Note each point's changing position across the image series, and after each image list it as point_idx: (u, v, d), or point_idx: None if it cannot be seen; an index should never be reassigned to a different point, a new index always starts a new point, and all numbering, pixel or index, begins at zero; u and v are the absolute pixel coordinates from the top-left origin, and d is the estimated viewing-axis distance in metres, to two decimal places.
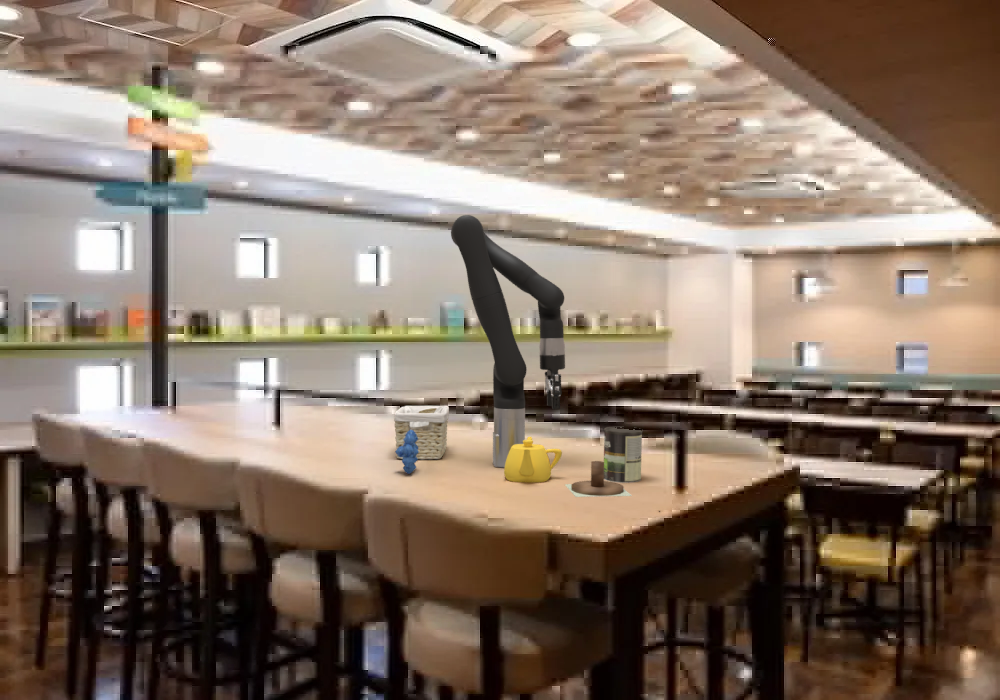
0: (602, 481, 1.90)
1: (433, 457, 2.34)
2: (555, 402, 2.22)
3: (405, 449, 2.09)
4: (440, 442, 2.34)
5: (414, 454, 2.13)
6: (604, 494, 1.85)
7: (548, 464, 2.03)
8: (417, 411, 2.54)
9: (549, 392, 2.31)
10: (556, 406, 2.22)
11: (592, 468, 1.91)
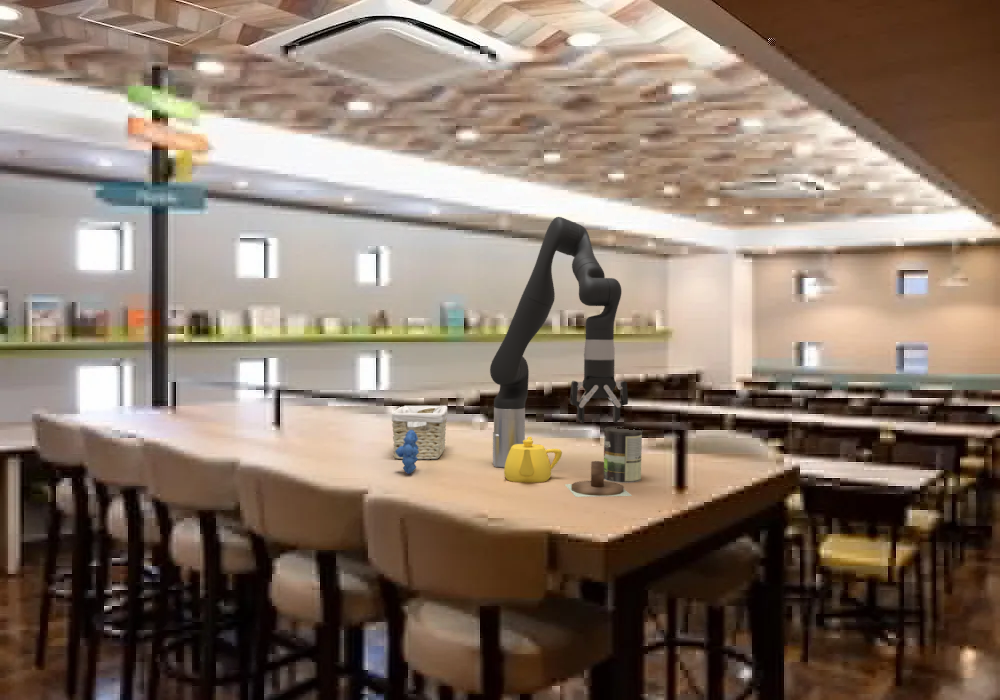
0: (602, 481, 1.90)
1: (431, 457, 2.34)
2: None
3: (405, 449, 2.09)
4: (438, 442, 2.33)
5: (414, 454, 2.13)
6: (604, 494, 1.85)
7: (548, 464, 2.03)
8: (416, 411, 2.54)
9: None
10: None
11: (592, 468, 1.91)
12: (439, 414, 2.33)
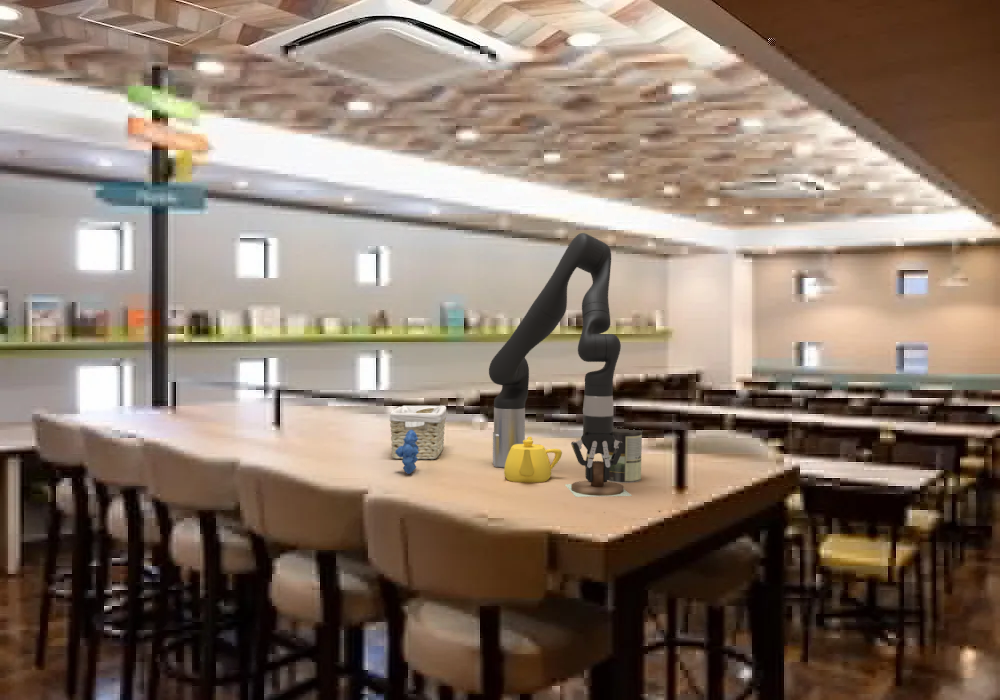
0: (602, 481, 1.90)
1: (428, 457, 2.34)
2: None
3: (405, 449, 2.09)
4: (435, 442, 2.33)
5: (414, 454, 2.13)
6: (604, 494, 1.85)
7: (548, 464, 2.03)
8: (414, 411, 2.54)
9: None
10: None
11: None
12: (437, 414, 2.33)
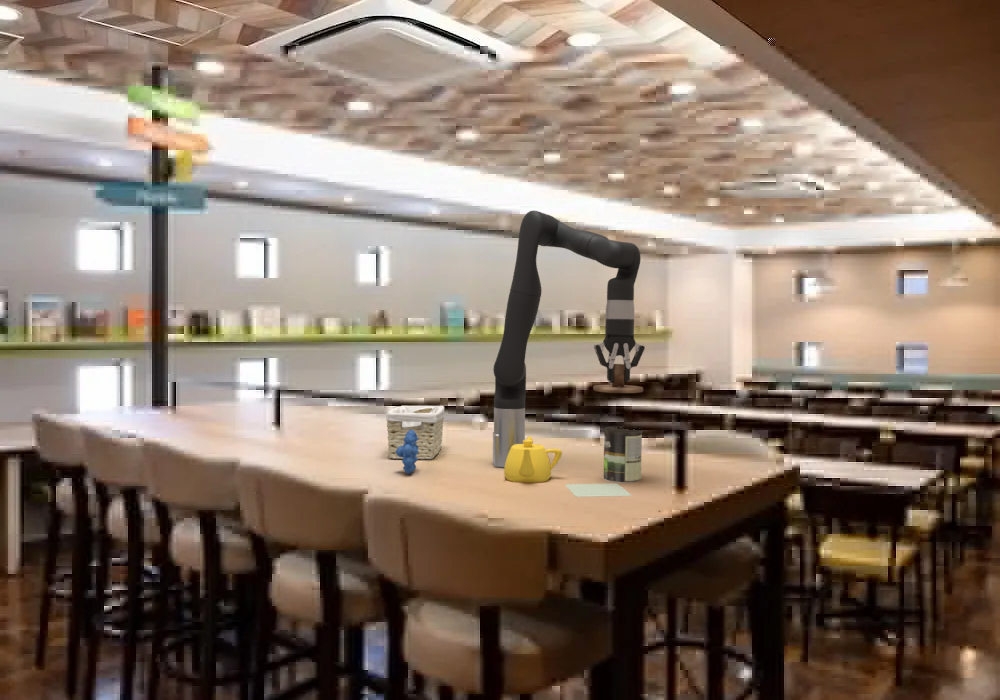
0: (623, 382, 2.01)
1: (425, 457, 2.34)
2: None
3: (405, 449, 2.09)
4: (432, 442, 2.33)
5: (414, 454, 2.13)
6: (624, 391, 1.95)
7: (548, 464, 2.03)
8: (413, 411, 2.54)
9: None
10: None
11: None
12: (433, 414, 2.33)
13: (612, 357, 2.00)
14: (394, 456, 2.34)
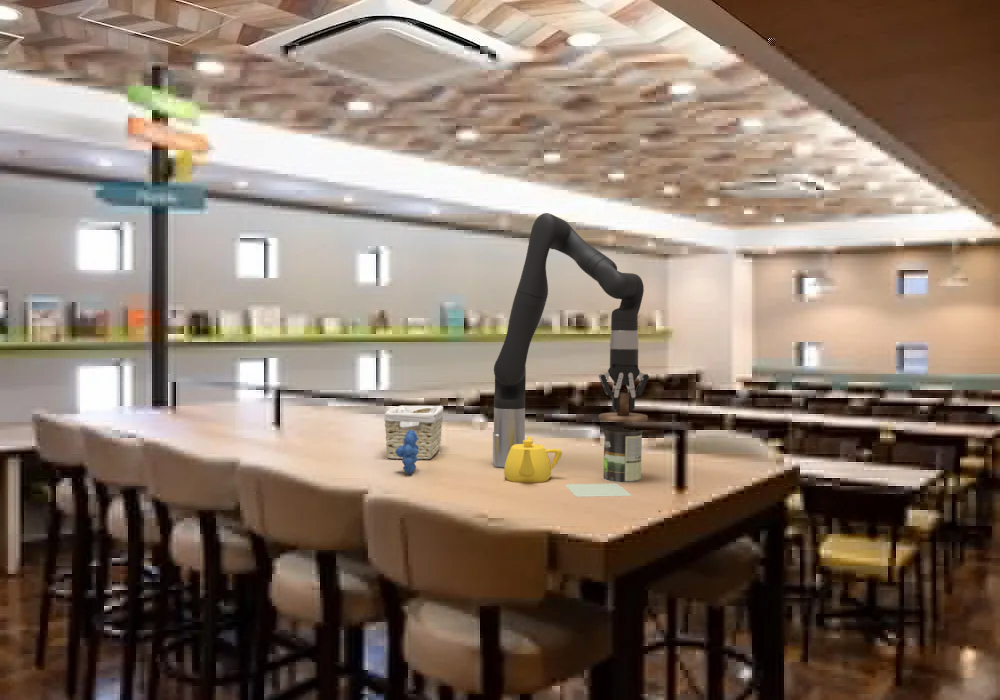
0: (628, 410, 2.04)
1: (423, 457, 2.34)
2: None
3: (405, 449, 2.09)
4: (430, 442, 2.33)
5: (414, 454, 2.13)
6: (630, 421, 1.99)
7: (548, 464, 2.03)
8: (412, 411, 2.54)
9: None
10: None
11: None
12: (431, 414, 2.32)
13: (617, 386, 2.03)
14: (392, 456, 2.34)
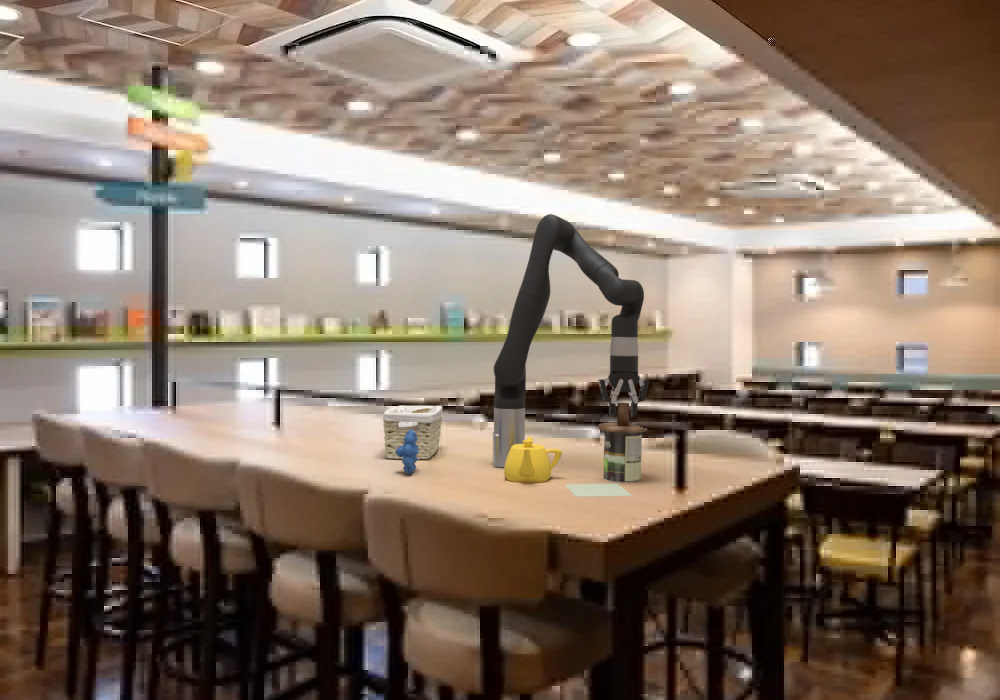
0: (627, 420, 2.04)
1: (421, 457, 2.34)
2: None
3: (405, 449, 2.09)
4: (428, 442, 2.33)
5: (414, 454, 2.13)
6: (630, 431, 1.98)
7: (548, 464, 2.03)
8: (411, 411, 2.54)
9: None
10: None
11: (618, 408, 2.04)
12: (430, 414, 2.32)
13: (615, 392, 2.03)
14: (390, 456, 2.34)
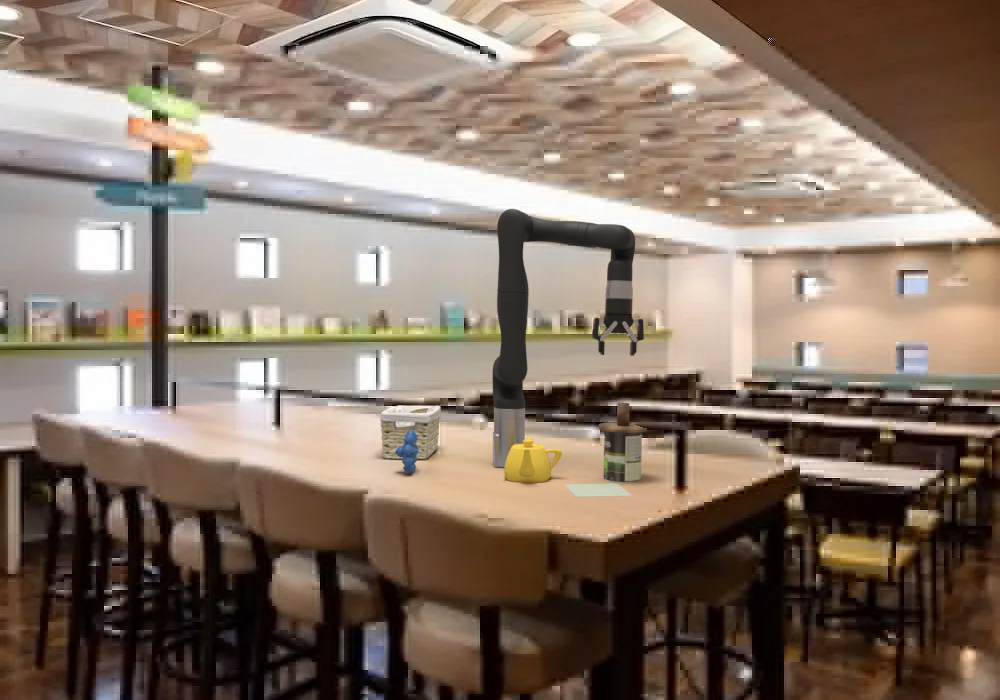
0: (628, 420, 2.04)
1: (419, 457, 2.34)
2: None
3: (405, 449, 2.09)
4: (425, 442, 2.33)
5: (414, 454, 2.13)
6: (630, 431, 1.99)
7: (548, 464, 2.03)
8: (409, 411, 2.54)
9: None
10: None
11: (618, 408, 2.04)
12: (427, 414, 2.32)
13: (607, 332, 2.12)
14: (388, 456, 2.34)
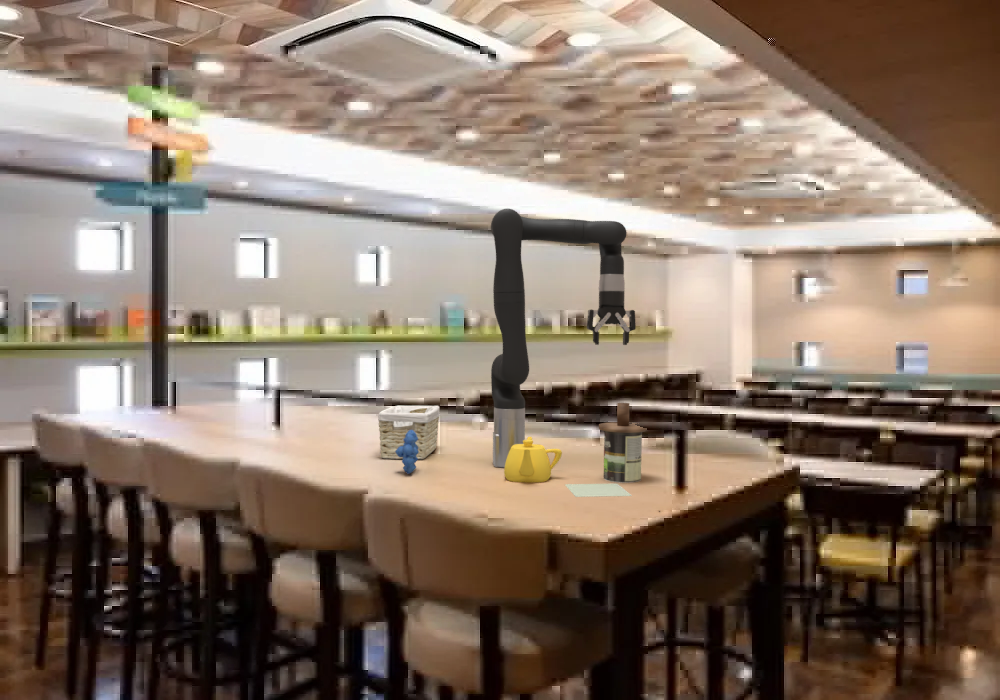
0: (628, 420, 2.04)
1: None
2: None
3: (405, 449, 2.09)
4: (423, 442, 2.33)
5: (414, 454, 2.13)
6: (630, 431, 1.99)
7: (548, 464, 2.03)
8: (408, 411, 2.54)
9: None
10: None
11: (618, 408, 2.04)
12: (424, 414, 2.32)
13: (601, 323, 2.24)
14: (386, 456, 2.34)
